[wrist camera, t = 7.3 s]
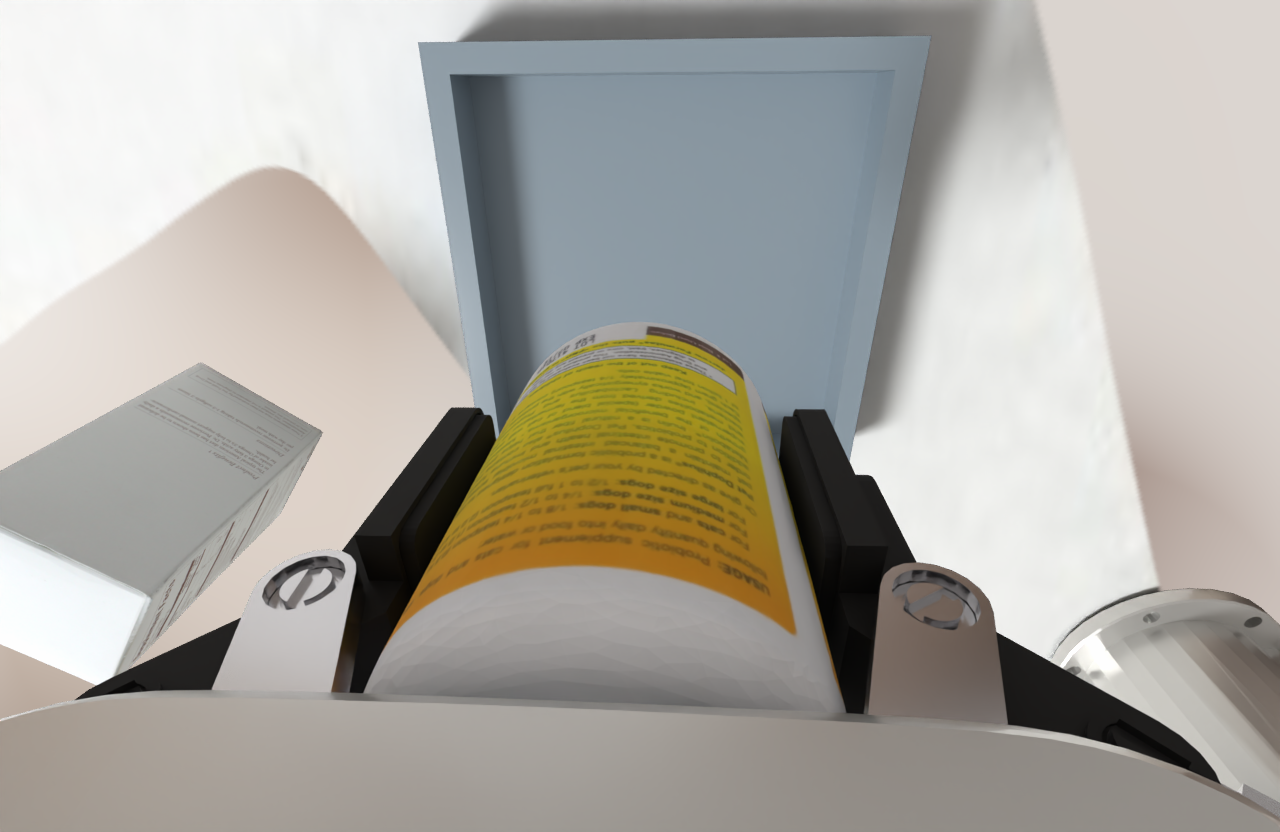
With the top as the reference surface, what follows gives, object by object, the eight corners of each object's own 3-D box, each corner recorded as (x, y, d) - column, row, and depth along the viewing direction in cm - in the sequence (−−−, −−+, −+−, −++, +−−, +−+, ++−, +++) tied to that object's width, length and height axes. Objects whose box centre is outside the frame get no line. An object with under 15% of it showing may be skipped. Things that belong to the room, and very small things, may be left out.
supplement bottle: (474, 381, 13) (18, 993, 4) (698, 265, 12) (751, 836, 3) (600, 554, 15) (482, 1202, 6) (803, 476, 14) (1031, 1187, 5)
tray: (902, 43, 23) (931, 35, 20) (833, 444, 31) (846, 475, 28) (447, 49, 24) (417, 42, 21) (500, 434, 32) (483, 463, 30)
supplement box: (166, 449, 34) (-84, 614, 23) (202, 357, 31) (-65, 497, 20) (284, 514, 36) (105, 697, 25) (330, 432, 33) (149, 600, 22)
